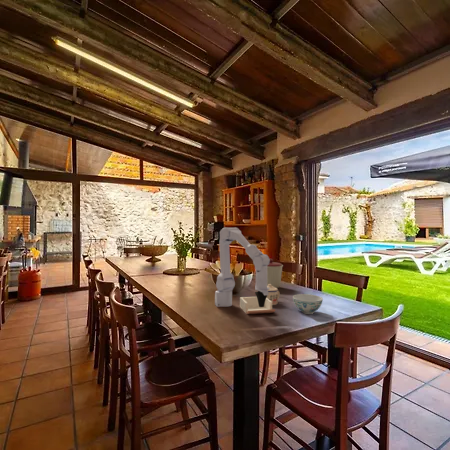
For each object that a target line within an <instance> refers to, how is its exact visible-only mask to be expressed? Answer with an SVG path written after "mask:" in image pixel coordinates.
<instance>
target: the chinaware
mask: <svg viewBox="0 0 450 450" xmlns="http://www.w3.org/2000/svg"><path fill="white" fill-rule="evenodd" d="M323 300H324V299H323V297H321V296H319V295H315V294H307V293H303V294H302V293H298V294H294V295H292V301H293V303H294V305H295V306H296V308H297V309H298V310H299V311H300V312H301V313H302V314H305V315H313V313H314V314H315V312H316V311H318V310H319V309H320V308H321V306H322V304H323V302H324V301H323Z"/></svg>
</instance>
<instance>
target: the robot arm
mask: <svg viewBox="0 0 450 450" xmlns="http://www.w3.org/2000/svg"><path fill="white" fill-rule="evenodd" d="M233 241H236V242H237V243H239V244H240V245H241V246H242V247H243V248H244V249H245V253H246V254H247V255H248V256H249V258H250V259H251V260H252V261H253V262H252V264H253V265H254V270H255V287H254V289H255V290H254V291H255V292H254V293H255V297H257V299H258V304H259V307H264V304H265V300H266V297H267V296H268V290H269V289H270V288H268V287H267V265H268V264H269V263H270V259H271V258H270V257H269V256H268V254H264V253H263V252H262V251H261V250H260V249H259V248H258V247H257V245H256V244H254V243H253V244H251V243H250V242H249V241H248V240H247V238H246V237H245V236H244V235H243V234H242V230H240V229H239V228H238V227H223V228H222V229H220V231H219V241H218V242H219V264H220V265H219V266H220V267H219V268H220V273H219V274H218V275H217V277H216V283H215V286H216V289H217V290H215V291H214V305H215V307H217V308H219V307H224V308H225V307H231V306H232V305H233V290H234V288H235V285H236V282H235V279H234V275H233V273H232V272H231V255H230V254H231V253H230V245H231V243H232V242H233Z"/></svg>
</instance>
